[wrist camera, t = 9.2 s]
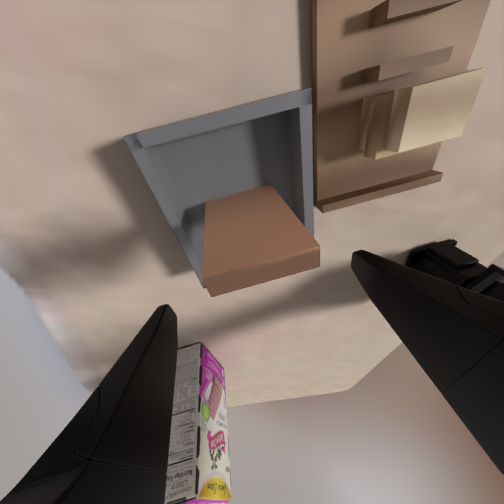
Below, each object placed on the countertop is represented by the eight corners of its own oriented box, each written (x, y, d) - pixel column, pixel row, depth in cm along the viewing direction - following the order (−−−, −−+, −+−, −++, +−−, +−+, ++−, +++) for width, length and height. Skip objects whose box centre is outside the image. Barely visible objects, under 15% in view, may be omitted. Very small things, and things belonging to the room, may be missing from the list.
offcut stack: (409, 138, 18) (456, 145, 14) (354, 153, 17) (388, 163, 14) (425, 76, 15) (487, 67, 12) (360, 94, 15) (403, 89, 12)
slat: (272, 198, 18) (320, 266, 10) (211, 215, 18) (211, 297, 10) (270, 183, 18) (320, 245, 10) (205, 201, 18) (201, 279, 10)
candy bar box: (225, 367, 38) (233, 501, 25) (201, 375, 38) (196, 512, 25) (202, 339, 32) (197, 502, 18) (173, 348, 32) (147, 517, 19)
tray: (300, 238, 23) (314, 258, 20) (204, 264, 23) (203, 288, 20) (290, 91, 15) (311, 87, 12) (140, 131, 15) (122, 136, 12)
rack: (422, 175, 21) (445, 182, 19) (314, 205, 21) (325, 215, 19) (513, -107, 11) (578, -154, 9) (310, -55, 11) (332, -92, 9)
